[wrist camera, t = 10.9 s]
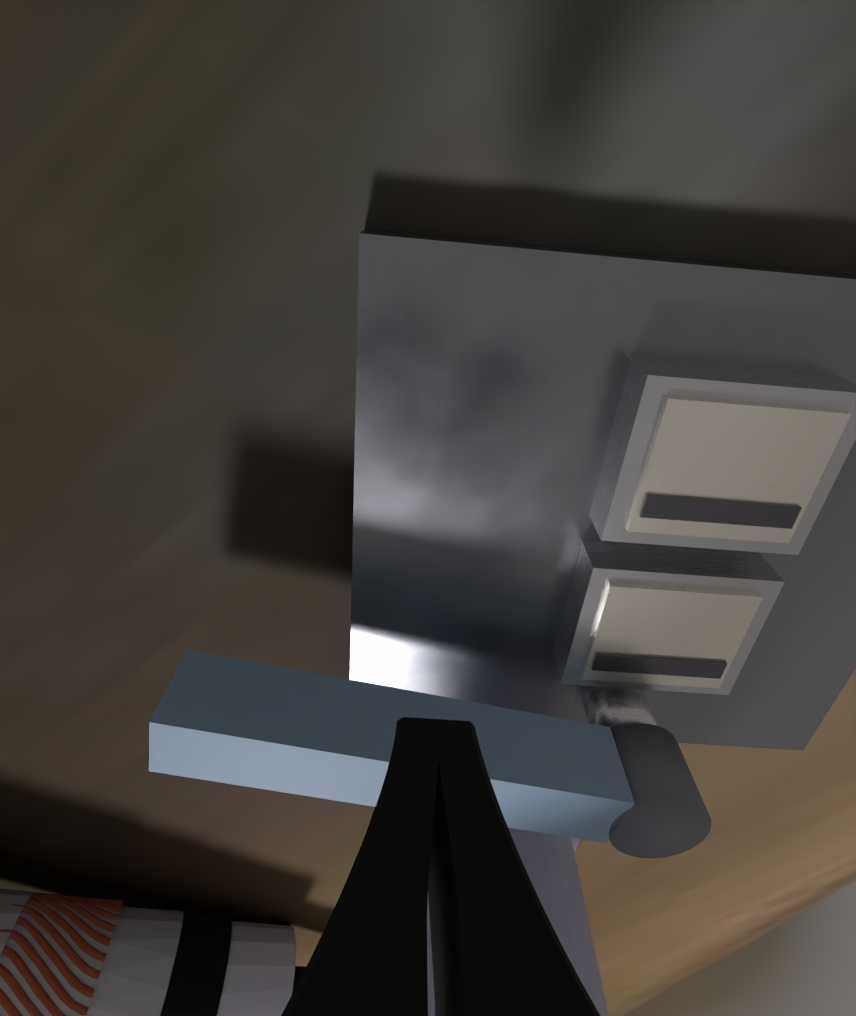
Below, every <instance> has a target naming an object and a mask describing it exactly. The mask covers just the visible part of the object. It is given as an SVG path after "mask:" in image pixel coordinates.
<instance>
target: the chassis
mask: <svg viewBox="0 0 856 1016" xmlns="http://www.w3.org/2000/svg"><path fill="white" fill-rule="evenodd" d="M855 668H856V276H855V275H844V274H833V273H823V272H812V271H801V270H790V269H780V268H769V267H758V266H747V265H737V264H726V263H715V262H704V261H694V260H683V259H672V258H661V257H651V256H640V255H629V254H618V253H608V252H597V251H586V250H575V249H565V248H554V247H543V246H532V245H522V244H511V243H500V242H490V241H479V240H468V239H457V238H447V237H436V236H425V235H414V234H404V233H393V232H382V231H371V230H363V231H362V232H360V233H359V260H358V308H357V357H356V405H355V454H354V502H353V551H352V600H351V648H350V680H355V681H361V682H366V683H372V684H377V685H382V686H388V687H393V688H399V689H404V690H410V691H415V692H421V693H426V694H432V695H437V696H443V697H448V698H453V699H459V700H464V701H470V702H475V703H481V704H486V705H492V706H497V707H503V708H508V709H514V710H519V711H524V712H530V713H535V714H541V715H546V716H552V717H557V718H563V719H568V720H574V721H579V722H585V723H590V724H595V725H601V726H606V727H610V729H611V730H612V729H614V728H617V727H620V726H623V725H628V724H638V723H643V724H652V725H656V726H659V727H662V728H664V729H666V730H668V731H669V732H670V733H671V734H672V735H673V736H674V737H675V739H676V741H677V743H690V744H707V745H723V746H740V747H756V748H772V749H789V750H804V748H805V747H806V745H807V744H808V742H809V741H810V739H811V737H812V736H813V734H814V733H815V731H816V729H817V728H818V726H819V725H820V723H821V722H822V720H823V718H824V717H825V715H826V714H827V712H828V711H829V709H830V707H831V706H832V704H833V703H834V701H835V700H836V698H837V696H838V695H839V693H840V692H841V690H842V689H843V687H844V685H845V684H846V682H847V681H848V679H849V677H850V676H851V674H852V673H853V671H854V670H855Z"/></svg>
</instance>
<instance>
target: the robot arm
mask: <svg viewBox="0 0 856 1016" xmlns="http://www.w3.org/2000/svg"><path fill="white" fill-rule="evenodd" d="M579 840H580V839H578V838H572V837H565V836H559V835H553V834H546V833H540V832H533V831H527V830H521V829H514V828H508V826H507V824H506V821H505V819H504V816H503V814H502V811H501V809H500V806H499V803H498V801H497V798H496V795H495V792H494V789H493V787H492V784H491V781H490V778H489V775H488V772H487V769H486V766H485V763H484V759H483V756H482V753H481V749H480V745H479V742H478V738H477V734H476V729H475V726H474V725H473V724H472V723H471V722H470V721H461V720H445V719H428V718H412V717H403V718H401V719H399V720H397V724H396V733H395V739H394V744H393V749H392V754H391V758H390V762H389V765H388V769H387V773H386V776H385V779H384V783H383V786H382V789H381V792H380V795H379V798H378V801H377V804H376V807H375V809H374V812H373V815H372V818H371V821H370V824H369V826H368V829H367V832H366V835H365V837H364V840H363V842H362V845H361V847H360V850H359V852H358V855H357V857H356V859H355V862H354V864H353V867H352V869H351V871H350V874H349V876H348V879H347V881H346V883H345V886H344V888H343V890H342V893H341V895H340V897H339V900H338V902H337V904H336V906H335V908H334V911H333V913H332V915H331V917H330V919H329V921H328V923H327V926H326V928H325V930H324V932H323V934H322V936H321V938H320V940H319V942H318V944H317V946H316V948H315V951H314V953H313V955H312V957H311V959H310V961H309V963H308V965H307V967H306V969H305V971H304V973H303V975H302V976H301V978H300V980H299V982H298V984H297V986H296V988H295V990H294V992H293V994H292V996H291V998H290V1000H289V1001H288V1003H287V1005H286V1007H285V1009H284V1011H283V1013H282V1015H281V1016H609V1014H608V1009H607V1004H606V999H605V995H604V990H603V985H602V981H601V976H600V971H599V967H598V962H597V957H596V953H595V948H594V943H593V938H592V934H591V929H590V924H589V920H588V915H587V910H586V906H585V901H584V896H583V892H582V887H581V882H580V877H579V873H578V868H577V863H576V859H575V854H574V853H575V851H576V848H577V846H578V843H579Z"/></svg>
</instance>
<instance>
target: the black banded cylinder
mask: <svg viewBox="0 0 856 1016" xmlns="http://www.w3.org/2000/svg"><path fill="white" fill-rule="evenodd" d="M123 901H124V900H115V899H101V898H89V897H76V896H66V895H57V894H45V893H36V892H30V891H20V890H10V889H0V1016H281V1015H282V1013H283V1011H284V1009H285V1007H286V1005H287V1003H288V1001H289V1000H290V998H291V996H292V994H293V992H294V990H295V988H296V986H297V984H298V982H299V980H300V978H301V976H302V975H303V973H304V971H305V969H306V967H300V966H295V960H296V940H295V931H294V928H293V927H292V926H287V925H275V924H263V923H251V922H238V921H231V919H228V918H215V917H202V916H188V915H183V911H176V910H162V909H148V908H135V907H122V905H123Z"/></svg>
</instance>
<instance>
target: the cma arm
mask: <svg viewBox="0 0 856 1016" xmlns="http://www.w3.org/2000/svg"><path fill="white" fill-rule="evenodd" d="M403 717H412V718H428V719H445V720H461V721H470V722H471V723H472V724H473V725H474V726H475V729H476V734H477V738H478V742H479V745H480V749H481V753H482V756H483V759H484V763H485V766H486V769H487V772H488V775H489V778H490V781H491V784H492V787H493V789H494V792H495V795H496V798H497V801H498V803H499V806H500V809H501V811H502V814H503V816H504V819H505V821H506V824H507V826H508V828H514V829H521V830H527V831H533V832H540V833H546V834H553V835H559V836H565V837H572V838H578V839H584V840H591V841H597V842H604V843H607V841H608V840H609V839H610V842H611V843H612V845H613V846H614V847H615V848H616V849H618V850H619V851H621V852H623V853H625V854H627V855H631V856H635V857H641V858H660V857H667V856H672V855H676V854H679V853H682V852H684V851H687V850H689V849H691V848H693V847H694V846H696V845H697V844H699V843H700V842H701V841H702V840H703V839H704V838H705V837H706V836H707V834H708V833H709V831H710V828H711V818H710V816H709V814H708V811H707V809H706V807H705V805H704V802H703V800H702V798H701V795H700V793H699V791H698V789H697V786H696V784H695V782H694V780H693V777H692V775H691V773H690V770H689V768H688V766H687V764H686V761H685V759H684V757H683V754H682V752H681V750H680V748H679V745H678V743H677V741H676V739H675V737H674V736H673V735H672V734H671V733H670V732H669V731H668V730H666V729H664V728H662V727H659V726H656V725H652V724H643V723H638V724H628V725H623V726H620V727H617V728H614V729H612V730H611V729H610V727H606V726H601V725H595V724H590V723H585V722H579V721H574V720H568V719H563V718H557V717H552V716H546V715H541V714H535V713H530V712H524V711H519V710H514V709H508V708H503V707H497V706H492V705H486V704H481V703H475V702H470V701H464V700H459V699H453V698H448V697H443V696H437V695H432V694H426V693H421V692H415V691H410V690H404V689H399V688H393V687H388V686H382V685H377V684H372V683H366V682H361V681H355V680H350V679H344V678H339V677H333V676H328V675H322V674H317V673H311V672H306V671H301V670H295V669H290V668H284V667H279V666H273V665H268V664H262V663H257V662H251V661H246V660H240V659H235V658H230V657H224V656H219V655H213V654H208V653H202V652H197V651H191V650H187V652H186V654H185V655H184V657H183V659H182V661H181V663H180V665H179V667H178V669H177V671H176V673H175V675H174V676H173V678H172V680H171V682H170V684H169V686H168V688H167V690H166V692H165V694H164V696H163V697H162V699H161V701H160V703H159V705H158V707H157V709H156V711H155V713H154V715H153V717H152V718H151V720H150V724H149V771H151V772H158V773H164V774H171V775H177V776H183V777H190V778H196V779H202V780H209V781H215V782H222V783H228V784H234V785H241V786H247V787H253V788H260V789H266V790H272V791H279V792H285V793H292V794H298V795H304V796H311V797H317V798H323V799H330V800H336V801H342V802H349V803H355V804H362V805H368V806H374V807H376V804H377V801H378V798H379V795H380V792H381V789H382V786H383V783H384V779H385V776H386V773H387V769H388V765H389V762H390V758H391V754H392V749H393V744H394V739H395V733H396V724H397V720H399V719H401V718H403Z"/></svg>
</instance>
